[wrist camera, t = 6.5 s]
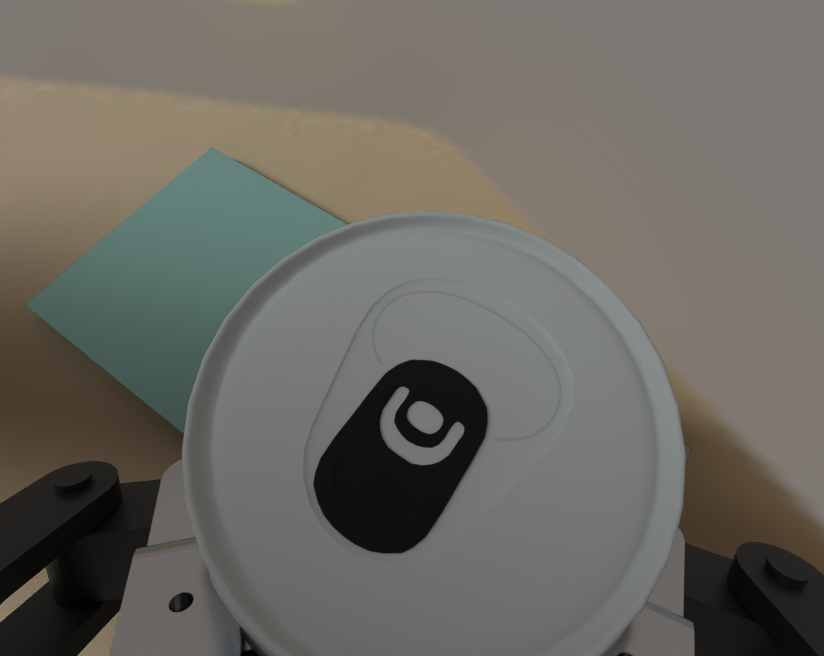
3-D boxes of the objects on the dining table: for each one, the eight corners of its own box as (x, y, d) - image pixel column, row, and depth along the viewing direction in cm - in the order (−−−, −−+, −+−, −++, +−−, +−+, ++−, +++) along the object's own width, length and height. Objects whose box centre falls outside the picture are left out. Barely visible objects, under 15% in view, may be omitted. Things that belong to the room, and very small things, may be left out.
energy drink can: (523, 492, 18) (831, 329, 5) (442, 641, 16) (581, 1109, 3) (400, 409, 20) (369, 108, 6) (310, 535, 18) (-28, 489, 4)
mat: (41, 314, 22) (24, 304, 21) (219, 160, 26) (212, 147, 25) (219, 459, 19) (209, 455, 18) (388, 259, 23) (387, 247, 22)
